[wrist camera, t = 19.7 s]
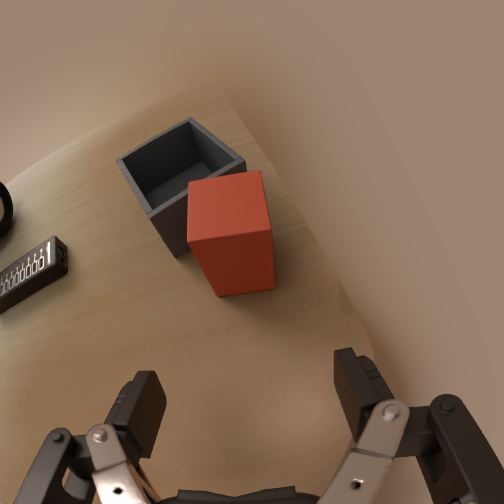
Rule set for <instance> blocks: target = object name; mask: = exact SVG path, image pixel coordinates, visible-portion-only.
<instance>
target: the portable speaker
mask: <svg viewBox="0 0 504 504" xmlns="http://www.w3.org/2000/svg"><path fill="white" fill-rule="evenodd" d="M12 216H13V204H12V200H11V197H10V194H9V192H8V190H7V188H6V187H5V186H4V185H3V183H1V182H0V237H1V236H2V235H3V234H4V232H5V231H6V229H7V227H8V226H9V224H10V222H11V220H12Z"/></svg>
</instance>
